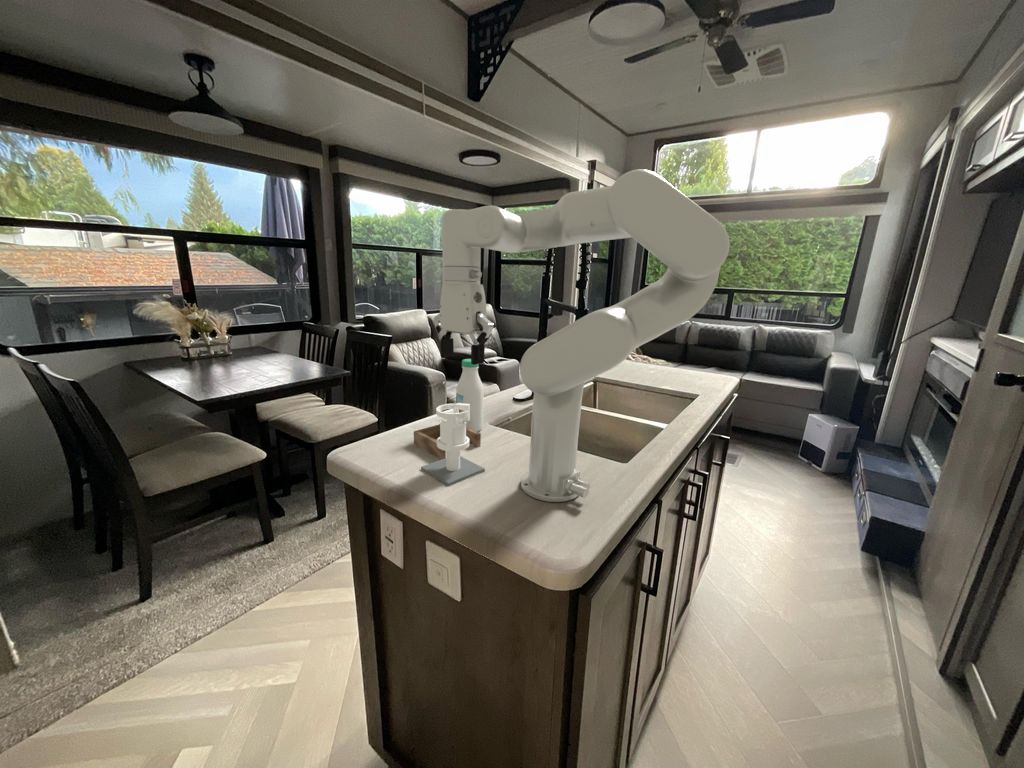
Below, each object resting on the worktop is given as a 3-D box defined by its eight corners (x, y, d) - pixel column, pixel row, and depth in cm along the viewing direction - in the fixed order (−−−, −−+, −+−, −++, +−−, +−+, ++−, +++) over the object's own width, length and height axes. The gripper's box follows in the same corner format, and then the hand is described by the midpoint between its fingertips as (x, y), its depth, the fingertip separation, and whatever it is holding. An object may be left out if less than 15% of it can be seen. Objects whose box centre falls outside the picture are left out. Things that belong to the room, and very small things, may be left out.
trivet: (484, 471, 89) (484, 468, 89) (448, 485, 82) (448, 483, 82) (456, 456, 96) (456, 454, 96) (421, 469, 89) (421, 466, 89)
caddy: (480, 446, 103) (480, 433, 102) (442, 459, 94) (442, 445, 93) (451, 432, 111) (451, 421, 110) (413, 444, 102) (413, 431, 101)
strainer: (466, 476, 85) (466, 409, 82) (433, 474, 86) (432, 407, 82) (471, 461, 92) (472, 399, 88) (441, 459, 93) (440, 397, 89)
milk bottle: (484, 424, 118) (486, 358, 113) (480, 434, 110) (481, 363, 105) (459, 423, 119) (459, 356, 114) (452, 432, 111) (453, 361, 106)
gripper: (505, 277, 78) (503, 364, 82) (448, 276, 89) (449, 352, 93) (477, 276, 72) (477, 369, 76) (420, 275, 83) (422, 356, 88)
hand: (461, 360), depth 85 cm, fingers open, 9 cm apart
